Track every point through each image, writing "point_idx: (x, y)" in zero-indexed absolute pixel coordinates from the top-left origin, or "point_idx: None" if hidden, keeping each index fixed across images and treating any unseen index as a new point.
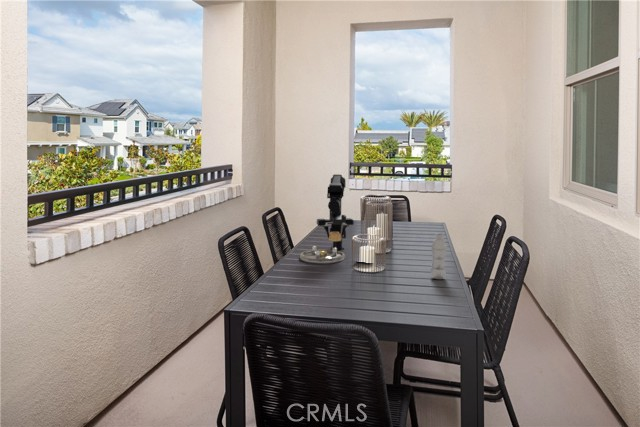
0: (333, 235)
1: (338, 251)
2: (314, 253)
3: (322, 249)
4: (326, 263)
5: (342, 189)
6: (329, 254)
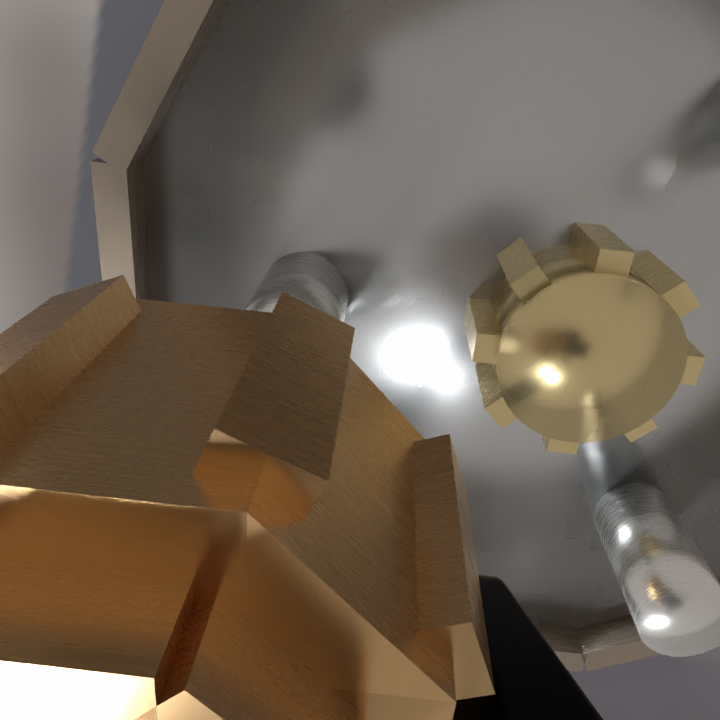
0: (281, 478)
1: None
2: (653, 492)
3: None
4: None
5: None
6: None
